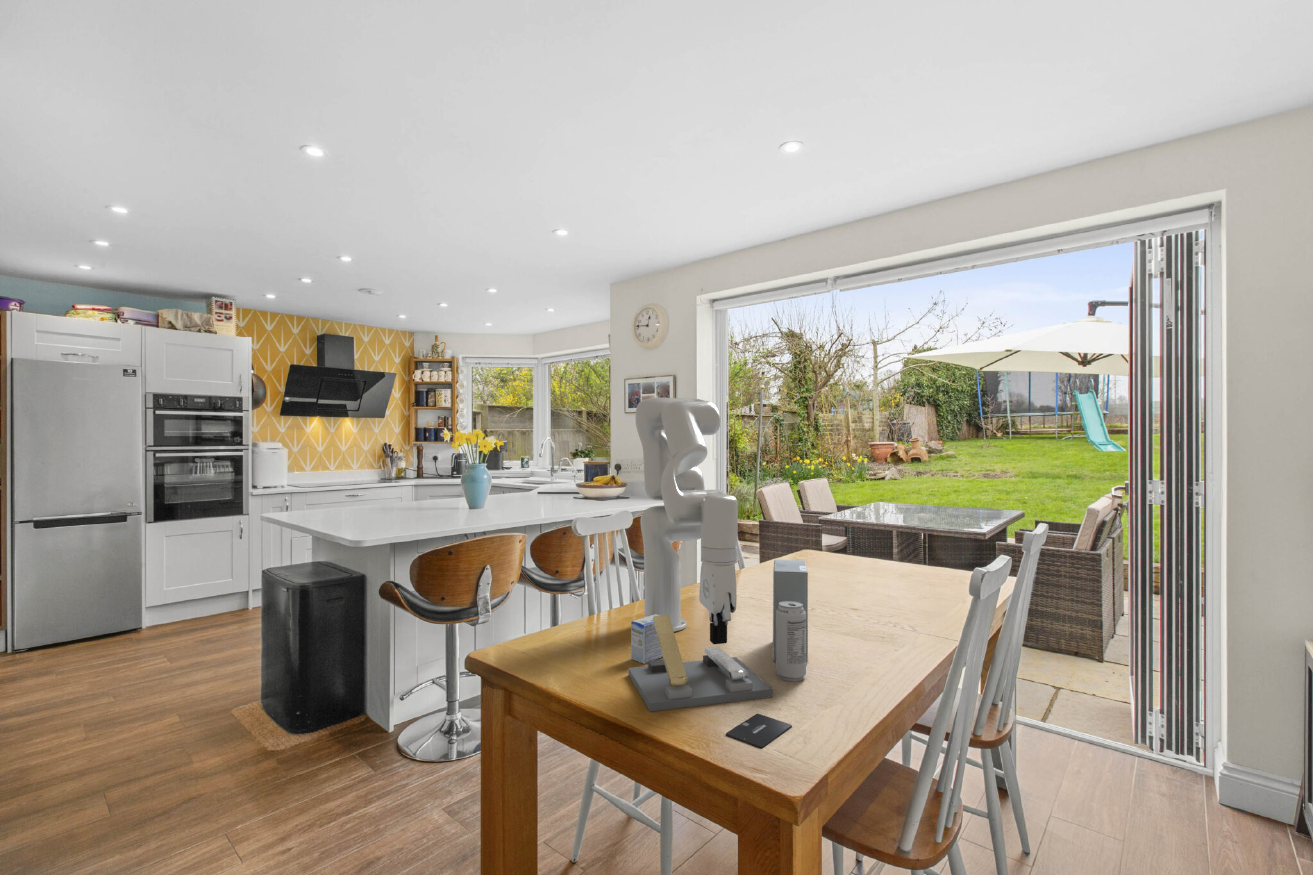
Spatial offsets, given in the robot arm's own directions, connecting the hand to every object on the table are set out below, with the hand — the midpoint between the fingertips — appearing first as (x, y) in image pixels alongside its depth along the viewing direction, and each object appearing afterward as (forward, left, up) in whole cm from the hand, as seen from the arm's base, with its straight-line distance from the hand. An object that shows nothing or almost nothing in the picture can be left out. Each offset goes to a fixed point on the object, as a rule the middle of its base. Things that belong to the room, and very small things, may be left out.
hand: (718, 642), depth 127 cm
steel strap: (+4, 0, -4) cm, 5 cm away
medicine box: (-14, -11, -7) cm, 19 cm away
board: (+4, -6, -7) cm, 10 cm away
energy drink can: (+5, +14, -7) cm, 17 cm away
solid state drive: (+25, -2, -8) cm, 26 cm away
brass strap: (+5, -12, +1) cm, 13 cm away
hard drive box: (-9, +21, -7) cm, 24 cm away
